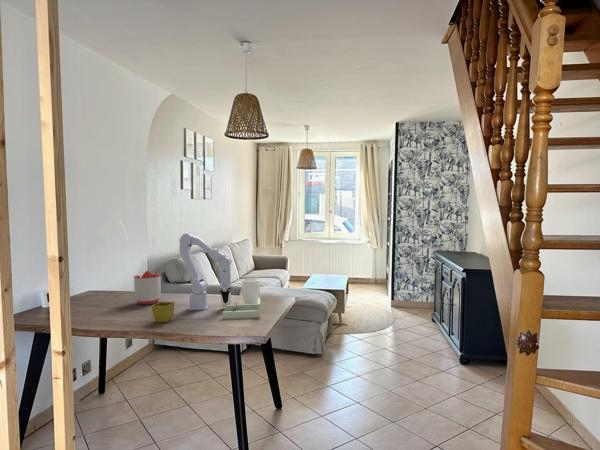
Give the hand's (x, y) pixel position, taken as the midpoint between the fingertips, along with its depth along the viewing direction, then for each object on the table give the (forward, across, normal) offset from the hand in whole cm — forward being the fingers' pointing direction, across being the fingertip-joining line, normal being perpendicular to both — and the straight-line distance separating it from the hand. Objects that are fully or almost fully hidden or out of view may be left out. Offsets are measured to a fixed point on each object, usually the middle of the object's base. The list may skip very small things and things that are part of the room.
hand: (226, 301), depth 227 cm
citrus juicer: (+5, +23, +50) cm, 55 cm away
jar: (+4, +7, -14) cm, 16 cm away
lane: (+4, -14, -9) cm, 17 cm away
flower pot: (+4, -21, +30) cm, 37 cm away
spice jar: (+2, 0, 0) cm, 2 cm away
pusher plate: (+4, -14, -6) cm, 16 cm away
